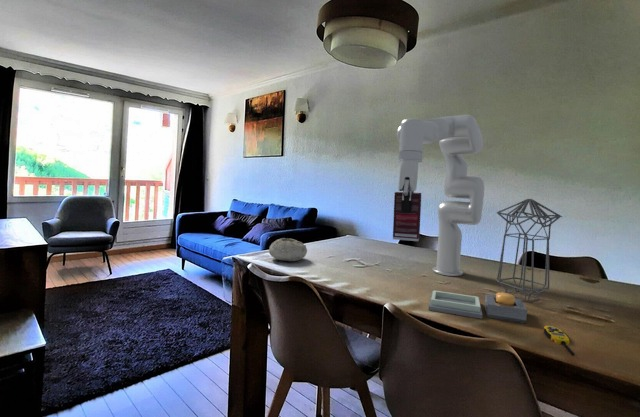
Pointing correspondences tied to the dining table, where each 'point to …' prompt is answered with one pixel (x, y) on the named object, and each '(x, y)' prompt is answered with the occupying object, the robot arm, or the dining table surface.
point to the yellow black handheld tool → (557, 336)
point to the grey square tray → (455, 304)
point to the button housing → (505, 310)
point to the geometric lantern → (533, 205)
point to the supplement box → (407, 218)
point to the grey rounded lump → (287, 250)
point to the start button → (505, 298)
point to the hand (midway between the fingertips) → (407, 211)
